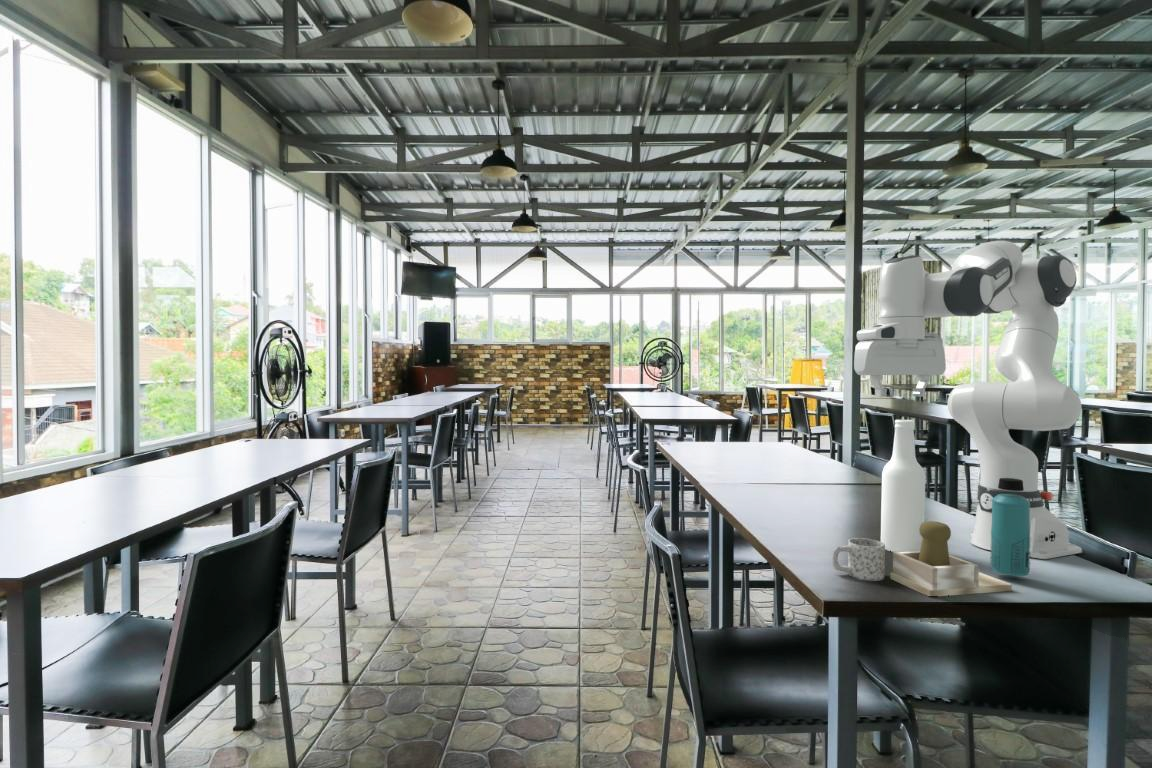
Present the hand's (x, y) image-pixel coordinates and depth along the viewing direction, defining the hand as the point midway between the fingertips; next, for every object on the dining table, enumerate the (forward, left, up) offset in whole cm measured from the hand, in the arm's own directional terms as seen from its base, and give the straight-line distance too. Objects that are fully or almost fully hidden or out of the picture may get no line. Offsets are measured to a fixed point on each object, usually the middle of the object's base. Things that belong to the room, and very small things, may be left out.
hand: (899, 396), depth 130 cm
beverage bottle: (-15, +13, -36) cm, 41 cm away
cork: (+3, +14, -35) cm, 38 cm away
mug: (+14, +6, -36) cm, 39 cm away
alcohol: (-8, -8, -36) cm, 38 cm away
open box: (0, +14, -36) cm, 38 cm away
